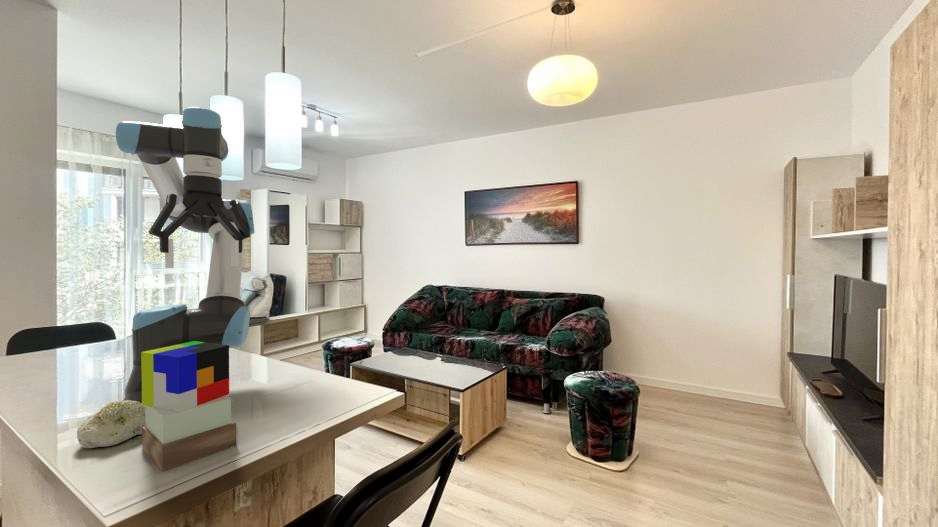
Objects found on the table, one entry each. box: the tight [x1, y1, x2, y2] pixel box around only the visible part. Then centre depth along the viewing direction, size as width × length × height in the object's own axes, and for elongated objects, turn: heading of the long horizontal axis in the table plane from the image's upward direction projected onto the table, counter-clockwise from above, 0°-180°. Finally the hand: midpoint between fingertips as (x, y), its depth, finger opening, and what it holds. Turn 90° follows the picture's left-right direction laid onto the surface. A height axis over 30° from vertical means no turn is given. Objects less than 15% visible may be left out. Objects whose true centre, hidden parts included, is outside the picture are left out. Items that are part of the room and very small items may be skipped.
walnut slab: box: [141, 419, 237, 473], centre depth 77 cm, size 12×12×5 cm
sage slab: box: [145, 395, 232, 444], centre depth 77 cm, size 11×11×5 cm
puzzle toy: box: [141, 341, 230, 413], centre depth 77 cm, size 10×10×10 cm
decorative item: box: [76, 399, 146, 449], centre depth 82 cm, size 12×9×10 cm
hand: (204, 267), depth 94 cm, fingers open, 13 cm apart
